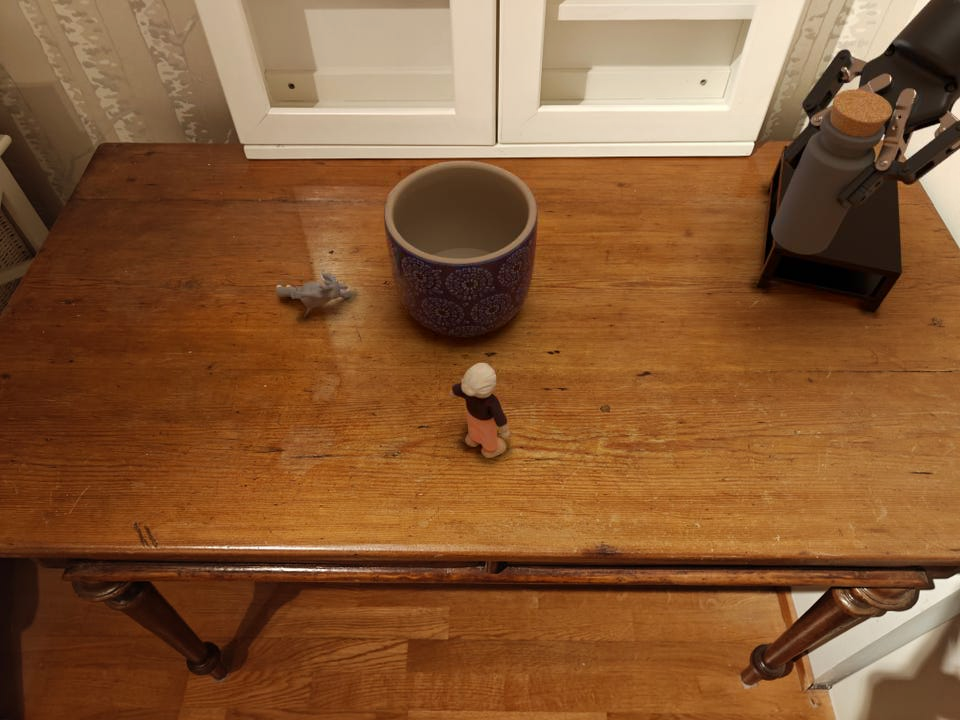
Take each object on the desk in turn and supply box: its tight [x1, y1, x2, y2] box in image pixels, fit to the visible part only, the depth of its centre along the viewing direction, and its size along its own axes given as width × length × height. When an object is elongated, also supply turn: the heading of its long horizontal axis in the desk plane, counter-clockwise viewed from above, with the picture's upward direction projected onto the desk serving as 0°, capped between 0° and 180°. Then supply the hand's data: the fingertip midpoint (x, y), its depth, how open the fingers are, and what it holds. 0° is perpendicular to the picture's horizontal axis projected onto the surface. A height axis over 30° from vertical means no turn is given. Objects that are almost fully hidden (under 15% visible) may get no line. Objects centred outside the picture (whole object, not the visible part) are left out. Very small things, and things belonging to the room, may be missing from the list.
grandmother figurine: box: [449, 362, 511, 459], centre depth 69 cm, size 8×4×13 cm, turn 59°
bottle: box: [771, 88, 892, 255], centre depth 65 cm, size 6×6×15 cm
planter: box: [383, 160, 539, 338], centre depth 80 cm, size 16×17×15 cm
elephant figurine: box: [275, 269, 353, 319], centre depth 84 cm, size 10×6×9 cm
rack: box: [755, 145, 903, 314], centre depth 89 cm, size 14×20×7 cm
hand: (815, 184), depth 65 cm, fingers closed on bottle, 6 cm apart
